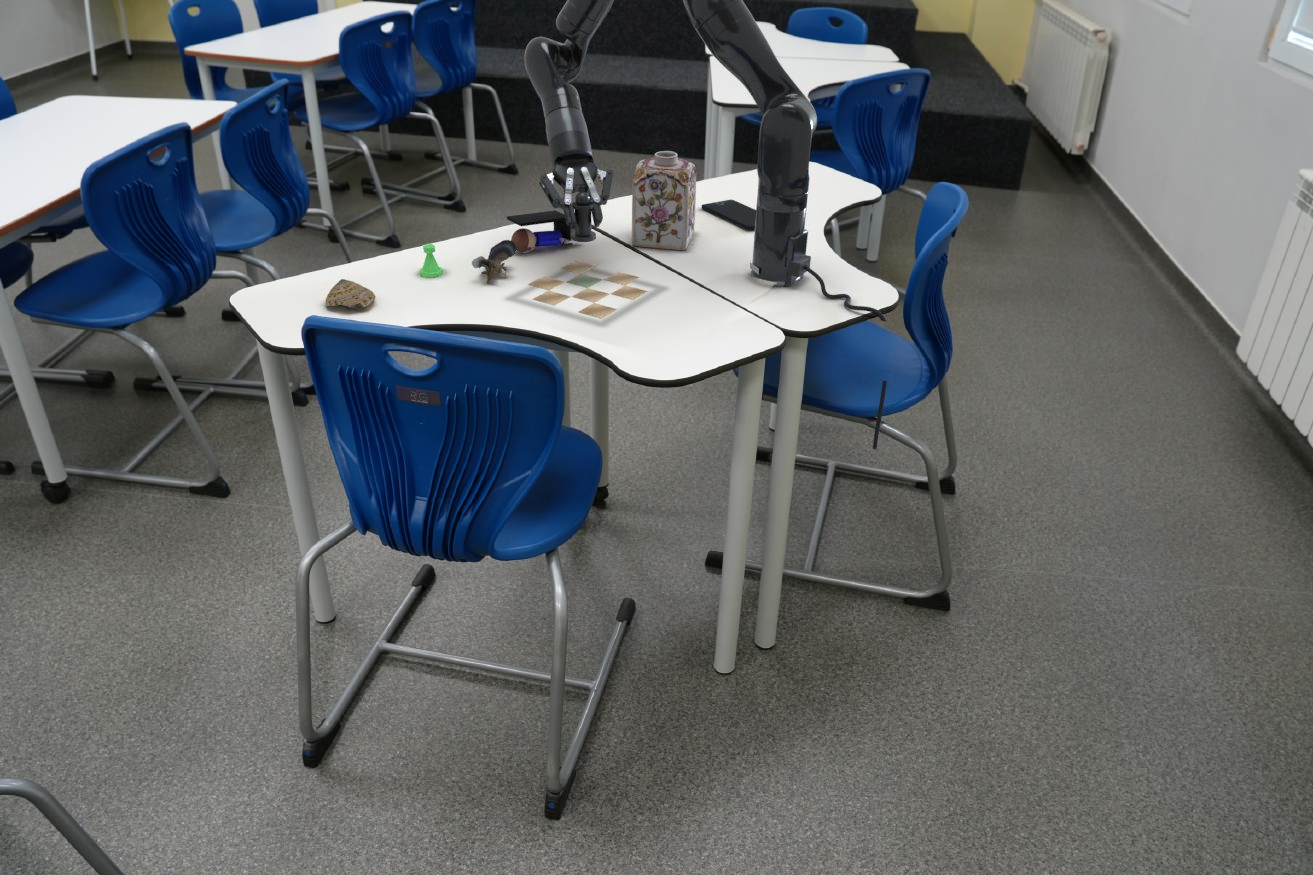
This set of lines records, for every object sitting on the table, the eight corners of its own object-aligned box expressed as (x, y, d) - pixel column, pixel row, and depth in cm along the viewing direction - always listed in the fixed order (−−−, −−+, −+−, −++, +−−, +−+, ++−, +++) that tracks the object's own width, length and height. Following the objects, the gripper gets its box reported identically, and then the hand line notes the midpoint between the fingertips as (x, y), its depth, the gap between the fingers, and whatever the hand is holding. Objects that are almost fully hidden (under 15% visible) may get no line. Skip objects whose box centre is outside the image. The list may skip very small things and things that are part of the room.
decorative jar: (695, 233, 209) (699, 148, 200) (687, 251, 199) (690, 163, 190) (640, 228, 211) (641, 144, 201) (629, 246, 201) (630, 159, 192)
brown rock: (352, 306, 166) (319, 280, 167) (347, 331, 169) (315, 305, 171) (387, 291, 172) (355, 265, 173) (382, 315, 175) (350, 290, 177)
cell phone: (731, 203, 228) (731, 199, 227) (780, 224, 215) (780, 220, 214) (700, 208, 223) (700, 204, 223) (748, 231, 211) (748, 227, 210)
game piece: (415, 273, 185) (412, 243, 182) (434, 267, 188) (431, 237, 185) (428, 279, 183) (425, 248, 180) (447, 273, 186) (444, 243, 183)
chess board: (662, 288, 182) (662, 282, 181) (601, 324, 167) (601, 318, 166) (575, 266, 191) (575, 260, 190) (510, 298, 176) (509, 292, 175)
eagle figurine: (517, 280, 181) (526, 255, 187) (493, 250, 177) (503, 226, 184) (486, 297, 184) (495, 272, 190) (461, 268, 180) (472, 244, 187)
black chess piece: (600, 237, 178) (600, 191, 173) (586, 244, 174) (585, 197, 170) (580, 232, 180) (579, 186, 175) (565, 239, 176) (564, 192, 172)
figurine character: (567, 243, 206) (504, 248, 197) (569, 207, 202) (505, 211, 194) (584, 252, 201) (520, 258, 193) (587, 216, 198) (522, 220, 189)
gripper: (532, 130, 172) (549, 219, 168) (610, 126, 176) (628, 213, 172) (527, 153, 179) (544, 238, 175) (602, 149, 183) (619, 232, 179)
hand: (585, 225), depth 174 cm, fingers closed on black chess piece, 3 cm apart
